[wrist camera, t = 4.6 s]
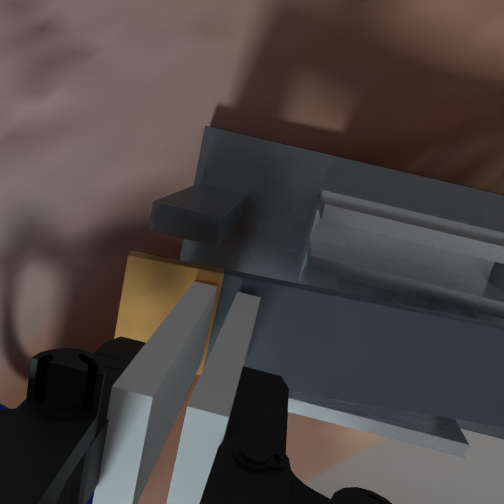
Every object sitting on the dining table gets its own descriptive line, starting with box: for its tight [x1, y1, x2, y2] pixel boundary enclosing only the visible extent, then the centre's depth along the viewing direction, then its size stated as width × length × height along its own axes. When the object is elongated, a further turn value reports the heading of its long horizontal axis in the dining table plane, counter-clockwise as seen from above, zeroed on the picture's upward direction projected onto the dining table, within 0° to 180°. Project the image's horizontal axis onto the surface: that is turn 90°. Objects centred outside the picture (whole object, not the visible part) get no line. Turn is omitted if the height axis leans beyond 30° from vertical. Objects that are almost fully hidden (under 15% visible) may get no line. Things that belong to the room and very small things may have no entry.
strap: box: [114, 250, 504, 427], centre depth 16 cm, size 19×4×1 cm, turn 77°
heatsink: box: [149, 126, 504, 457], centre depth 20 cm, size 20×12×9 cm, turn 77°
